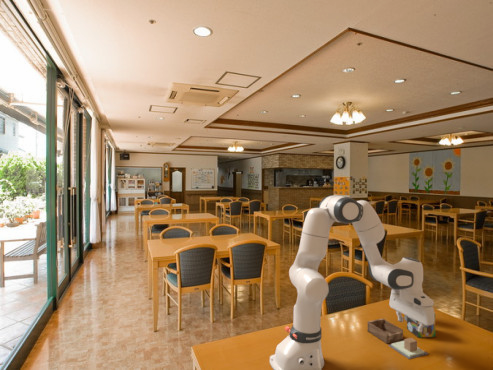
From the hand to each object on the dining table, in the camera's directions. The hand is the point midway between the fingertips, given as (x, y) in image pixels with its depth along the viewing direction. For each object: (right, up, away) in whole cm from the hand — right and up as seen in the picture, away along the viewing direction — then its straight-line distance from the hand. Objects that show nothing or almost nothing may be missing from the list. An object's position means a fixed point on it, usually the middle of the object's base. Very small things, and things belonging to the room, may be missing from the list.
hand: (409, 326), depth 130 cm
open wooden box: (-5, -11, +14) cm, 18 cm away
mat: (0, -11, +2) cm, 11 cm away
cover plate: (0, -11, +2) cm, 11 cm away
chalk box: (+15, -12, +17) cm, 25 cm away
